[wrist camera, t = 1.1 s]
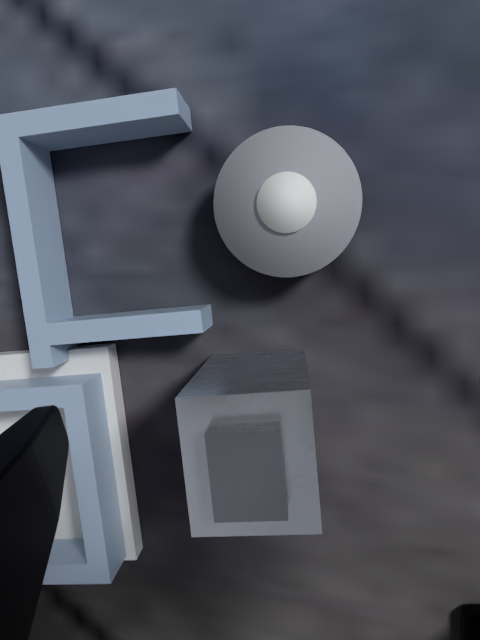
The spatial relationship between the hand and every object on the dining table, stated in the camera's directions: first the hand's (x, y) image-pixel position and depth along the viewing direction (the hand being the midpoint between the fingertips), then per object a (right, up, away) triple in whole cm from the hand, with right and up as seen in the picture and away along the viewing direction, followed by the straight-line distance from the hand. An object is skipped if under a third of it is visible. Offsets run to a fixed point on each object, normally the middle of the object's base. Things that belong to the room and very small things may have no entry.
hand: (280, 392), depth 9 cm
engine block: (0, -2, +13) cm, 13 cm away
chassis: (-10, 0, +13) cm, 17 cm away
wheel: (+1, +7, +11) cm, 13 cm away
